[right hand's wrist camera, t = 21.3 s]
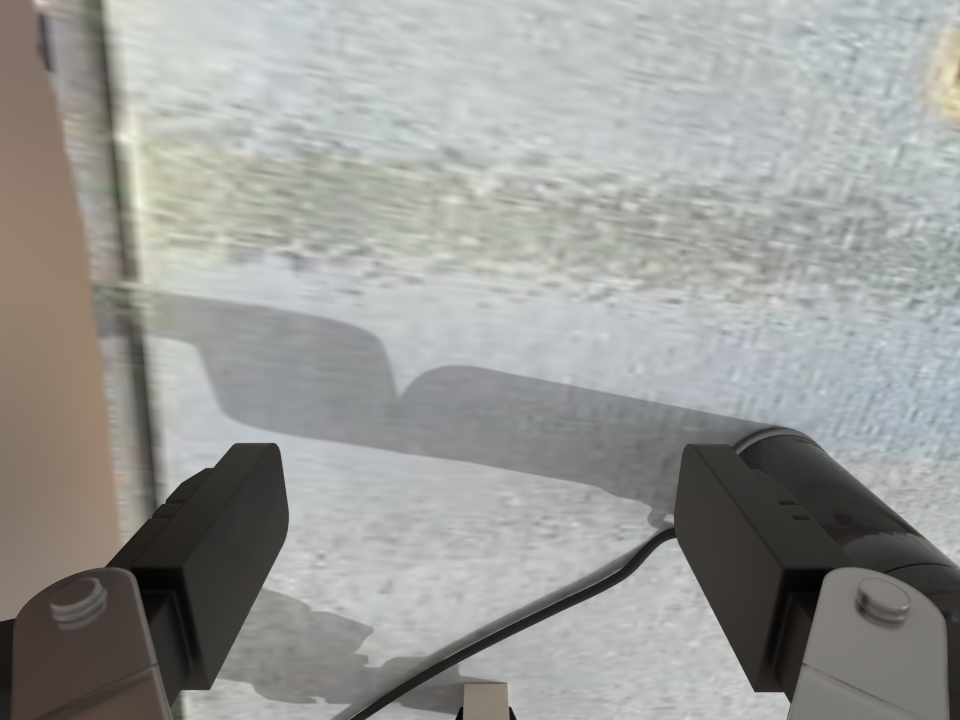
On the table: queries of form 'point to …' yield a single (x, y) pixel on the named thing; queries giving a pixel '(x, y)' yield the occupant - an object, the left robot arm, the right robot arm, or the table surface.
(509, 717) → the left robot arm
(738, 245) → the table surface
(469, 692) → the beige cube
